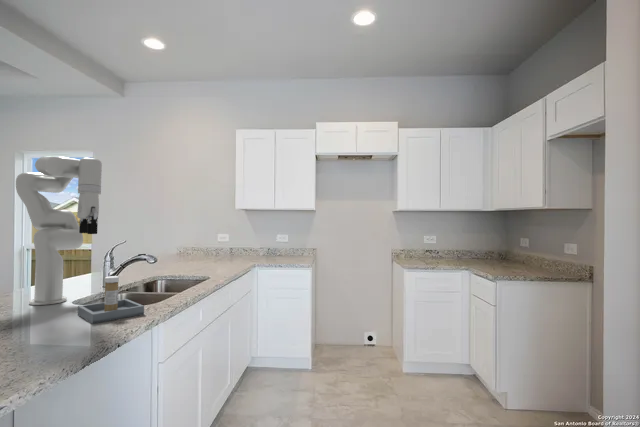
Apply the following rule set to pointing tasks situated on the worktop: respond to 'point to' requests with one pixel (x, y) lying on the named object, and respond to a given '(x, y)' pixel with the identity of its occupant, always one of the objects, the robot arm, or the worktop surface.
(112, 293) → the sprinkles bottle
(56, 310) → the worktop surface
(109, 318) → the tray
